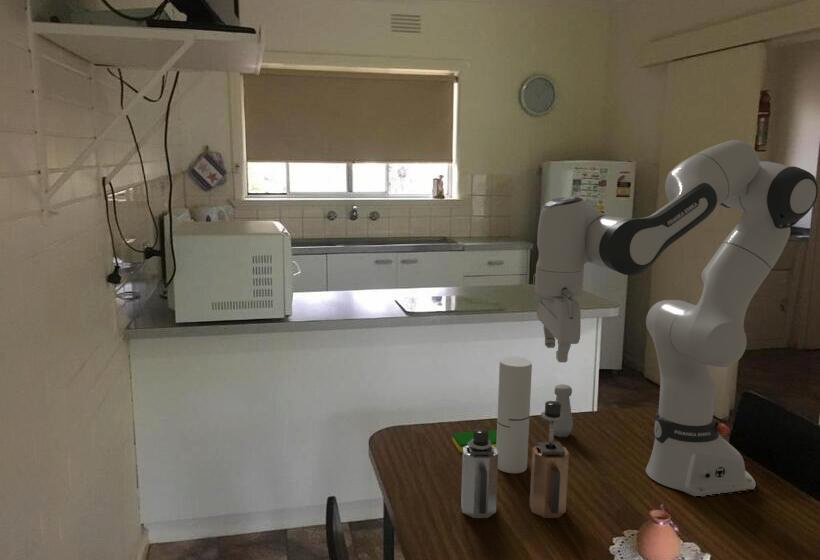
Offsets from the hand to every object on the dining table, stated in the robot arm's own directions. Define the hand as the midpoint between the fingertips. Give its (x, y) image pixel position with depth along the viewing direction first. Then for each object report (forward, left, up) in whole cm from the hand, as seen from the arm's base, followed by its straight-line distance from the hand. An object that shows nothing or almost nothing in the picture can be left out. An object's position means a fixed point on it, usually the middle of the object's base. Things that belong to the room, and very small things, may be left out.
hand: (555, 353), depth 128 cm
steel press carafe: (+14, +1, -32) cm, 35 cm away
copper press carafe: (0, +1, -32) cm, 33 cm away
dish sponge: (+9, -31, -33) cm, 46 cm away
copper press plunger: (0, 0, -22) cm, 22 cm away
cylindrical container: (+4, -19, -33) cm, 38 cm away
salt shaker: (-12, -37, -33) cm, 51 cm away
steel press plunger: (+14, 0, -28) cm, 32 cm away
